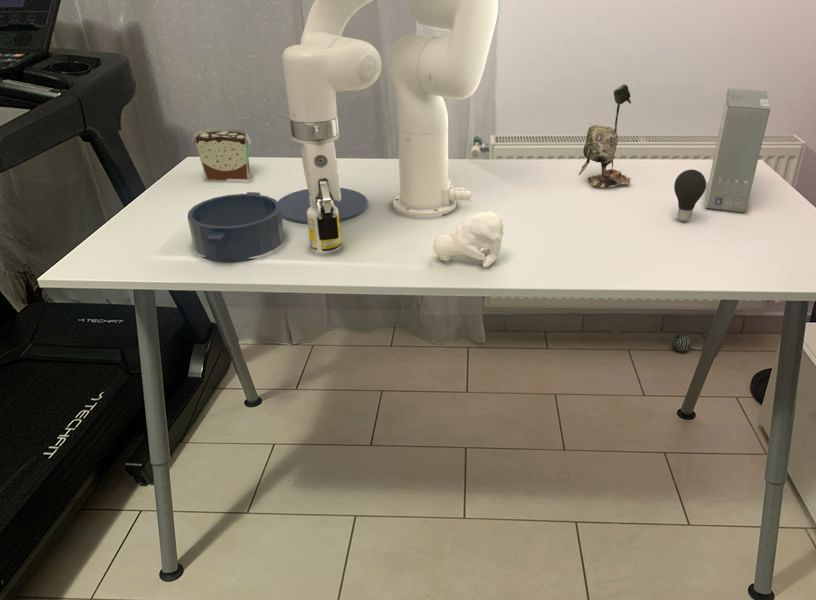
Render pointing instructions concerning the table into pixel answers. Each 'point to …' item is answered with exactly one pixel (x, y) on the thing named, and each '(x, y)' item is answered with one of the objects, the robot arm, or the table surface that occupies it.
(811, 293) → the table surface
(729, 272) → the table surface
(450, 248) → the white lumpy rounded piece
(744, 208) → the hard drive box
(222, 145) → the food container
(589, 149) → the bird figurine
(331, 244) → the supplement bottle
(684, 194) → the light bulb
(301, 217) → the lid
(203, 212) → the pot
